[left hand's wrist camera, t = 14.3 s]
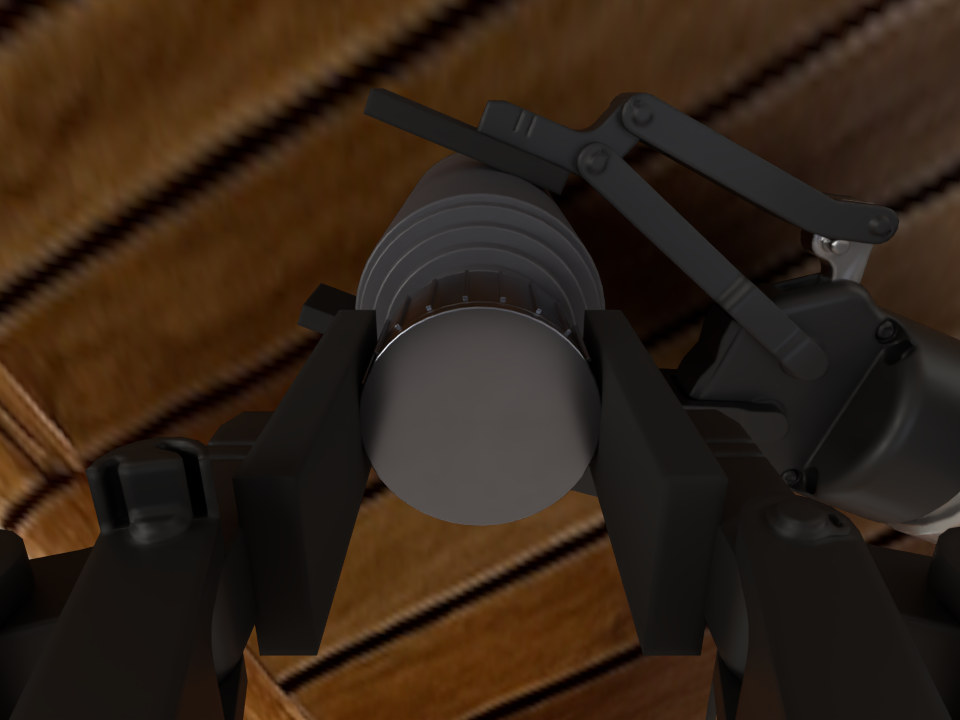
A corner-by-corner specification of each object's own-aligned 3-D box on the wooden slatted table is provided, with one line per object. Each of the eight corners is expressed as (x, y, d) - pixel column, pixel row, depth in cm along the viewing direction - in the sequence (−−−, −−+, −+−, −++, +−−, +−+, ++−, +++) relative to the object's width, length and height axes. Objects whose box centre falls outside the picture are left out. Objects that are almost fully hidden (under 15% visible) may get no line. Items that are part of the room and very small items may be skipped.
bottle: (507, 321, 31) (539, 600, 14) (381, 254, 30) (251, 470, 13) (582, 196, 29) (726, 348, 12) (449, 119, 28) (402, 166, 11)
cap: (602, 279, 14) (627, 317, 11) (568, 471, 15) (584, 538, 13) (380, 256, 13) (360, 290, 11) (370, 453, 15) (351, 517, 13)
